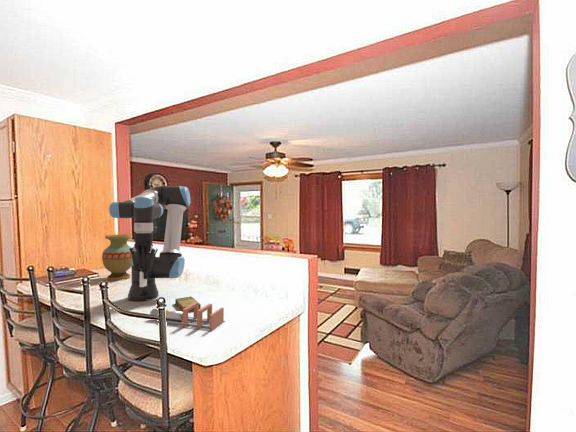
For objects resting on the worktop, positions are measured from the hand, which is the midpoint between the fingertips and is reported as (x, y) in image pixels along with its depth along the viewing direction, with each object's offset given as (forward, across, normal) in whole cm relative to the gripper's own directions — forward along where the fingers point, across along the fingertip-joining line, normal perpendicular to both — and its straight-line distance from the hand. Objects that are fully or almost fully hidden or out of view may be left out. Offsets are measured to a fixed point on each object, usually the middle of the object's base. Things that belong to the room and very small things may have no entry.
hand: (143, 286), depth 132 cm
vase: (+14, -72, +61) cm, 95 cm away
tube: (+14, +13, 0) cm, 19 cm away
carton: (+15, +10, +18) cm, 26 cm away
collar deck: (+15, +23, 0) cm, 28 cm away
